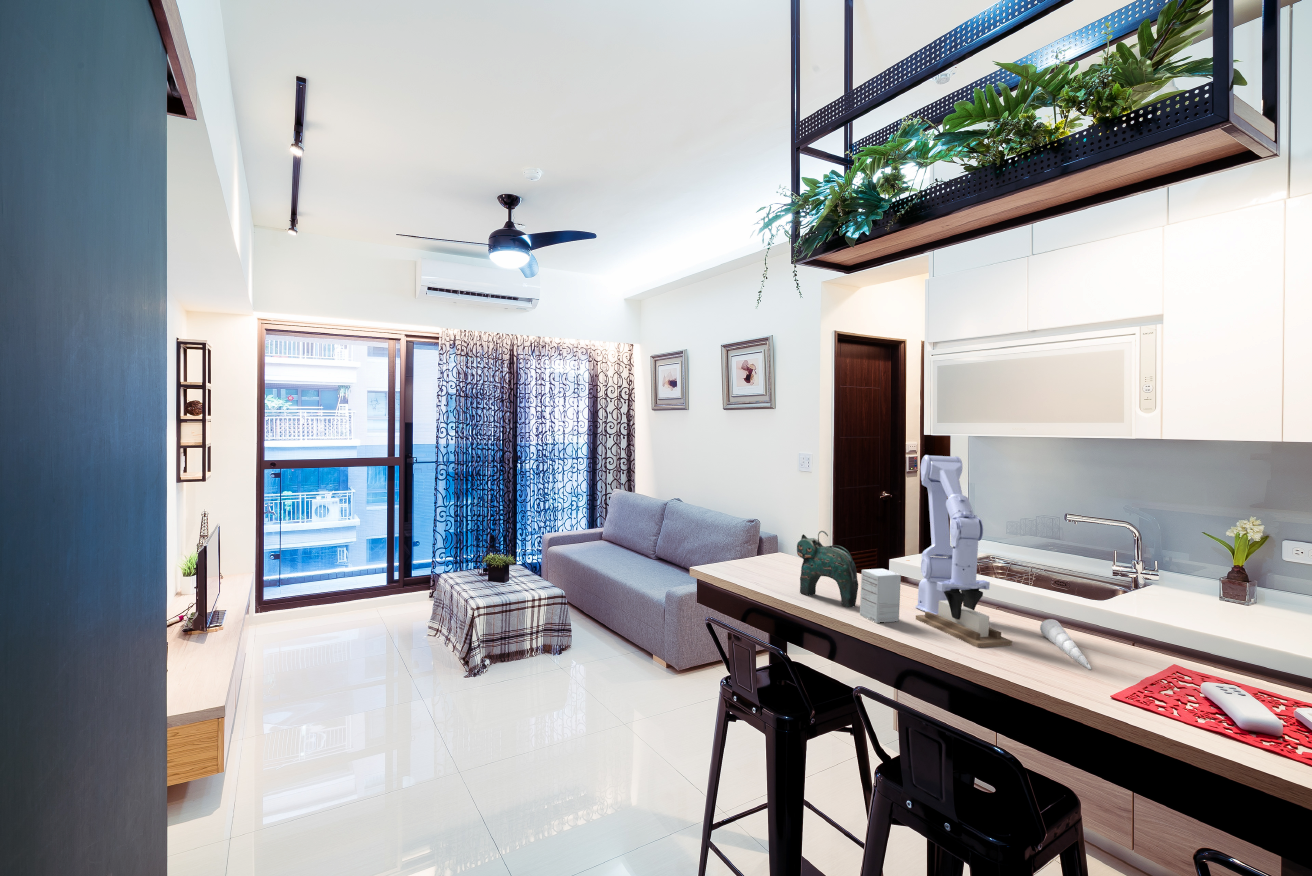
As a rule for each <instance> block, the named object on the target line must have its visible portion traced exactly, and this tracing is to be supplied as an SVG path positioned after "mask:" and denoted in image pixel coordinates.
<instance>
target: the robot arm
mask: <svg viewBox="0 0 1312 876" xmlns="http://www.w3.org/2000/svg"><path fill="white" fill-rule="evenodd" d="M962 472H963V461H962V459H961V458H960V456H957V455H955V456H947V455H946V456H945V455H944V456H943V455H929V454H925V455H924V456H923V457H922V459H921V463H920V480H921V485H922V486H924V487H926V488H927V493H928V511H929V522H930V523H929V524H930V538H931V543H930V544H931V545H930V546H929V547H927V548H926V549H924V550H923V551H922V553H921V561H920V573H921V575H922V577H923V578H922V579H921V580H920V582H919V583H918V592H917V605H915V606H914V608H915V609H918V610H921V611H922V612H924V613H925V612H931V613H934V614H938V608H939V601H945V600H948V603H949V606H950V610H951V615H952V617H953V618H955V619H960V616H961V608H962V606H964V607H967V608H969V609H972V610H975V609H976V607H977V604H978V603H979V602H980V600H981V599H982V597H983V596H984V592H983V591H982V590H986V591H987V590H990V586H991V585H990V581H987V580H984V579H982V580H981V579H978V580H977V575H978V574H977V572H978V571H977V570H978V557H979V555H978V554H979V552H978V551H979V542H980V541H981V540H983V539H982V538H983V535H984V525H983V522H982V521H983V520H982V519H981V518H980V517H978V515H977V514H975V513H974V511H973V509H972V505H971V502H970V500H969V498H968V497H967V496H966V495H964V494H963V492H962V487H961V481H960V479H961V476H962ZM949 519H950V524H949ZM975 611H976V610H975Z"/></svg>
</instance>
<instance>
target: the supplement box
mask: <svg viewBox="0 0 1312 876" xmlns="http://www.w3.org/2000/svg"><path fill="white" fill-rule="evenodd" d="M860 577H861V578H860V580H861V581H860V602H859V603H860V604H859V616H861V617H862V616H863V617H862V618H864V619H867V618H868V619H867V620H869V619H870V620H869V621H871V620H872V621H871V622H873V621H874V622H873V623H875V622H876V624H880V622H884V623H892V622H895V621H896V622H899V621H900V607H901V605H900V604H901V599H900V598H901V583H902V582H901V579H902V578H901V577H902V575H901V574H899V573H898V572H895V571H892V570H889V569H885V568H871V569H870V568H869V569H861V576H860Z"/></svg>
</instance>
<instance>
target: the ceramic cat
mask: <svg viewBox="0 0 1312 876" xmlns="http://www.w3.org/2000/svg"><path fill="white" fill-rule="evenodd" d="M821 533H824V534H825V536H827V537H828V536H829V535H828V533H827V532H826V531H825V530H820V531H819V532H818V534H817V538H815V537H811V538H810V537H807V536H806V535H805V534H802V535H801V538H800V540H799V541H798V542H797V544H796V553H797V556H798V557H799V558H801V559H802V562H801V563H802V564H801V570H800V578H799V583H800V584H799V586H800V587H799V594H800V593H801V595H804V596H813V594H814V595H816V592H817V591H816V587H817V583H818V581H819V580H820V578H821V577H827V578H830V579H832V580H834V581H835V583H836V584H837V586H838V588H839V589H838V590H839V594H840V599H841V606H842V605H843V606H842V607H846V608H853V606H854V607H855V606H856V604H857V599H858V598H857V597H858V590H859V580H858V572H857V567H856V564H855V562H854V560H853V557H852V554H850V552H849V550H848V549H846V548H845V547H843V546H841V545H837V544H832V545H825V546H824V545H823V544H822V543H821V541H820V534H821Z"/></svg>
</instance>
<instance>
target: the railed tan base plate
mask: <svg viewBox="0 0 1312 876" xmlns="http://www.w3.org/2000/svg"><path fill="white" fill-rule="evenodd" d="M915 620H917V621H919V622H921V621H922V622H921V623H923V622H924V624H925V623H926V625H928V626H930V627H932V628H934V629H936V628H937V630H939V631H941V632H943V633H946V634H947V633H948V634H947V635H949V634H950V635H949V636H952V637H954V638H956V639H958V638H959V639H958V640H960V639H961V641H962V640H963V642H965V643H967V644H969V645H971V646H973V647H976V648H988V647H1002V646H1003V647H1004V646H1012V645H1013V640H1011V639H1008V638H1006V637H1004V636H1002V631H999V630H996V629H995V628H992V627H990V626H989V633H988V637H980V633H978V632H975V631H973V630H971V629H968V628H966V627H964V626H962V625H959V624H957V623H955V622H952V621H950V620H948V619H945V618H943V617H941V616H938V614H934V613H931V612H925V611H924V614H917V615H915Z"/></svg>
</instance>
